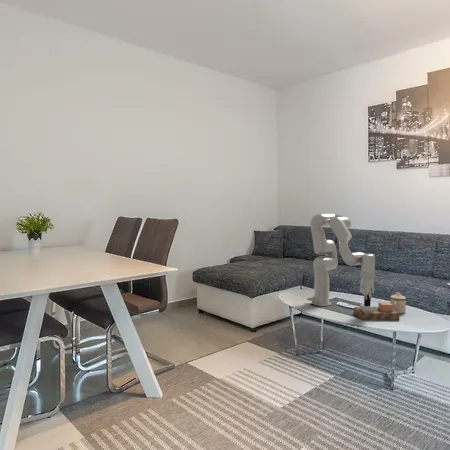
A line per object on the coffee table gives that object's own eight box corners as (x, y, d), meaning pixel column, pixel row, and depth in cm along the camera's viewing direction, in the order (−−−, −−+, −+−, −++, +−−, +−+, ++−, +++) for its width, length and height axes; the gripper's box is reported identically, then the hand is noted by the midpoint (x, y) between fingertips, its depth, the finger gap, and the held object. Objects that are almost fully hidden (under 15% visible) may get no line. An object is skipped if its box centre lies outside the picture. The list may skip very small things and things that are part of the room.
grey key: (363, 315, 225) (363, 307, 225) (359, 312, 231) (360, 304, 231) (373, 315, 225) (373, 307, 225) (369, 312, 231) (370, 304, 231)
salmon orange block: (382, 313, 225) (382, 304, 225) (378, 310, 231) (378, 302, 231) (392, 313, 225) (392, 304, 225) (388, 310, 231) (388, 302, 231)
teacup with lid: (392, 308, 246) (392, 290, 245) (407, 311, 240) (408, 292, 239) (386, 312, 237) (386, 294, 236) (402, 315, 231) (402, 296, 230)
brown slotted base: (361, 320, 222) (361, 313, 222) (353, 313, 235) (353, 307, 235) (399, 320, 222) (399, 313, 222) (389, 313, 235) (389, 307, 235)
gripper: (357, 272, 234) (356, 302, 235) (366, 277, 219) (365, 309, 220) (369, 272, 234) (368, 302, 235) (379, 277, 219) (378, 309, 220)
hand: (367, 305), depth 228 cm, fingers closed
